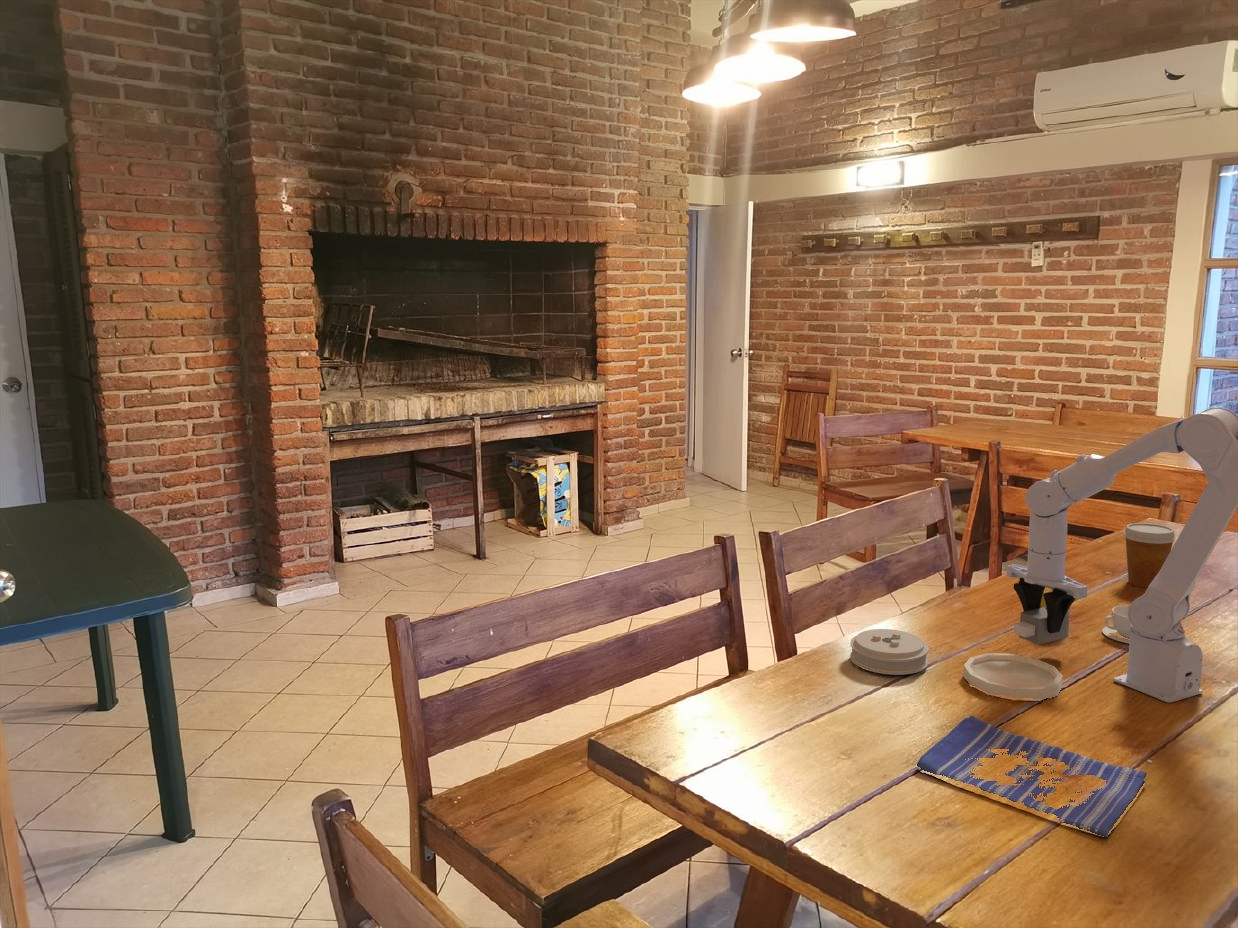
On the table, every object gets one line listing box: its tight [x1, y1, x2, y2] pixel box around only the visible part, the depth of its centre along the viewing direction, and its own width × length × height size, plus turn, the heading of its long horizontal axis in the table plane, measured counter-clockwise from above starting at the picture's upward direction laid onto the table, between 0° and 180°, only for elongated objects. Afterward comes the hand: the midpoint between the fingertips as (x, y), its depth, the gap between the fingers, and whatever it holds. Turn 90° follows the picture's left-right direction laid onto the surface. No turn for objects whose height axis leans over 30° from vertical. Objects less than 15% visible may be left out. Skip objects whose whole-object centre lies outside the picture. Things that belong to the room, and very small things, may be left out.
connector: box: [1013, 607, 1071, 645], centre depth 154 cm, size 4×10×4 cm, turn 114°
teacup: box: [1101, 605, 1131, 644], centre depth 163 cm, size 10×10×5 cm
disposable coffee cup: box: [1122, 522, 1177, 589], centre depth 191 cm, size 10×10×12 cm
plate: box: [963, 652, 1064, 699], centre depth 146 cm, size 14×14×2 cm
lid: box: [849, 628, 930, 676], centre depth 154 cm, size 13×13×5 cm
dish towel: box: [916, 715, 1148, 838], centre depth 118 cm, size 17×24×3 cm
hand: (1042, 627), depth 154 cm, fingers closed on connector, 4 cm apart
